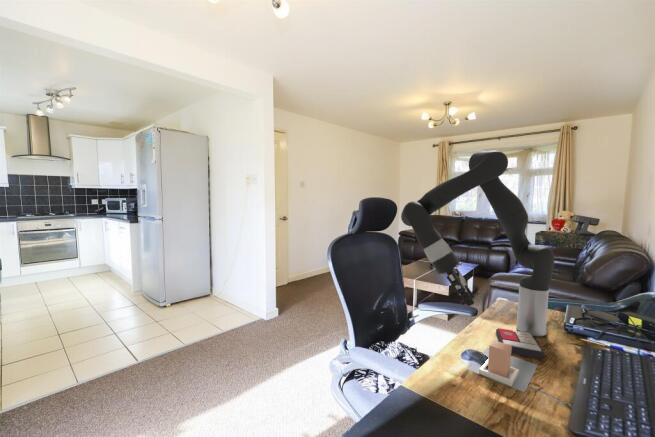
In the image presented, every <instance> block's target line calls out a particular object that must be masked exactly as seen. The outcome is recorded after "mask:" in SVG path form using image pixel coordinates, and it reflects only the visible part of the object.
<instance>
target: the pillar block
mask: <svg viewBox="0 0 655 437" xmlns="http://www.w3.org/2000/svg"><path fill="white" fill-rule="evenodd" d="M488 346H489V347H488V348H489V360H488V371H489V372H492V373H494V374H497V375H500V376H502V377H505V378H507V377H508V375H509V374H510V364H511V356H512V353H511V350H512V346H511V345H508V344H505V343H502V342H499V340H495V339H494V340H493V341H492V342H491V343H490V344H489V345H488Z"/></svg>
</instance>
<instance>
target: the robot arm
mask: <svg viewBox="0 0 655 437" xmlns="http://www.w3.org/2000/svg"><path fill="white" fill-rule="evenodd" d="M508 166H509V159H508V156H507V155H506V154H505V153H504V152H502V151H499V150H481V151H476V152H474V153H473V154H472V155H471V156H470V158H469V160H468V171H466V172H463V173H461V174H459V175H458V176H454V177H452V178H450V179H447V180H445V181H443V182H441V183H439V184H438V185H436V186H435V187H433V188H432V189H430V190H429V191H427V192H426V193H425V194H424V195H423V196H422V197H421V198H419V199H418V200H417V201H409V202H408V203H406V204H405V205H404V207H403V209H402V211H401V213H400V214H401V215H400V218H401V221H402V223H403V224H404V225H406V226H408V227H412V230H413V231H414V234H415V238H416V240H417V242H418V244H419V245H420V247H421V248H422V250H423V252H424V253H425V255H426V257H427V258H428V261H429V262H430V263H431V265H432V266H433V268H434V269H435V271H436V272H437V274H438V275H442V274H445V273H446V275H447V276H446V280H448V282H449V283H450V285H451V286H452V288H453V290H454V291H455V293H456V294H457V295H458V296H460V297H461V299H462V300H463V302H464V303H465V305H466V306H468V307H471V306H473V305H474V304H475V301H474V299H475V295H474V293H473V292H472V290H470V287H469V285H468V282H467V281H466V279H465V277H463V274H462V272H461V271H460V270H459V269H458V268H457V267H456V266H458V265H460V261H459V259H458V258H457V257H456V254H455V253H454V251H452V249H451V248H450V246H449V244H448V243H447V242H446V241H445V240H444V239H443V237H442V236H441V235H440V233H439V231H438V230H437V229H436V227H435V226H434V223H433V221H432V219H431V217H430V216H432V215H433V214H434V213H435V212H436V211H438V210H441V209H442V208H443V207H445V206H446V205H448V204H450V203H451V202H453V201H454V200H456V199H458V198H459V197H460V196H462V195H464V194H466V193H468V192H469V191H472V190H473V189H475V188H477V187H480V188H481V190H482V192H483V193H484V195H485V198H486V199H487V201H488V202H489V204H490V207H491V209H492V210H493V213H494V215H495V216H496V218H497V220H498V222H499V223H500V225H501V228H502V229H503V231H504V233H505V235H506V238H507V239H508V242H509V244H510V246H511V249H512V252H513V255H514V258H515V259H516V262H517V263H518V264H519V265H520V266H522V267H524V268H525V269H529V270H532V273H531V275H530V276H523V277H521V278H520V279H519V286H518V288H519V289H518V298H517V299H518V302H517V303H518V304H517V316H516V329H517V331H519V332H526V333H530V334H531V335H532V336H533V337H543V336H546V332H547V331H546V330H547V318H548V308H549V307H548V304H549V292H550V291H549V290H550V285H551V283H552V279H553V272H554V267H555V254H554V251H553V250H552V248H550V247H547V246H543V245H536V244H532V243H531V242H530V241H529V239H528V237H527V235H526V229H527V226H528V222H529V215H528V212H527V210H526V208H525V206H524V204H523V202H522V201H521V199H520V198H519V197H518V196H517V195H516V194H515V192H513V191H512V190H511V189H510V188H509V187H507V186H506V185H505V184H504V183H503V181H502V180H501V179H500V176H502V175H503V174H504V173H505V172H506V171H507V169H508Z"/></svg>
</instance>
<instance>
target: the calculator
mask: <svg viewBox="0 0 655 437" xmlns="http://www.w3.org/2000/svg"><path fill="white" fill-rule="evenodd" d="M495 334H496V337H497V341H498V342H502V343H505V344H508V345H511V346H512V350H511V355H512V354H513V355H516V356H517V355H518V356H524V357H529V358H534V359H538V360H543V359H544V351H543V350H542V348H541V347H540V345H539V344H538V343H537V341H536V339H535V338H534V336H532V335H531V334H530V333H526V332H520V331H519V330H512V329H508V328H507V329H505V328H500V327H498V328H497V329H495Z"/></svg>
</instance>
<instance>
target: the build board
mask: <svg viewBox="0 0 655 437" xmlns="http://www.w3.org/2000/svg"><path fill="white" fill-rule="evenodd" d="M482 353H483V354H484V355H486V356H487V357H488V359H487V360H486V361H485V363H484V364H483V365H482V366H481V367H480V366H478V365H476V364H474V362H472V363H471V365H470V366H469V367H468V368H467V370H468V371H470V372H472V373H475V374H477V375H480V376H481V377H485V378H488V379H490V380H492V381H494V382H497V383H500V384H502V385H504V386H507V387H510V388H512V389H515V390H518V391H519V392H523V393H525V392H526V390H527V388H528V385H529V384H530V382H531V380H532V378H533V376H534V374H535V372H536V370H537V368H538V366H539V364H537V363H534V362H530V361H528V360H525V359H522V358H518V357H516V356H513V355H511V364H510V374H509V375H508V377H507V378H505V377H502V376H500V375H497V374H494V373H492V372H489V371H488V370H486V367H487V366H488V360H489V347H486V348H485V349H484V350H483V351H482Z"/></svg>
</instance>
